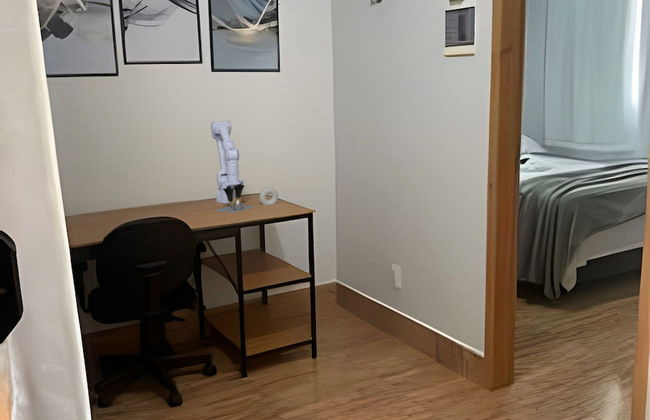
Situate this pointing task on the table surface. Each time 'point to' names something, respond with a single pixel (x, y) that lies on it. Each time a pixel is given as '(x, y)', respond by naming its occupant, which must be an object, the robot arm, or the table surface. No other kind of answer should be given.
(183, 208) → the table surface
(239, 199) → the brass gear
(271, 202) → the donut
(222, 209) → the gear board
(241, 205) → the fixed gear
